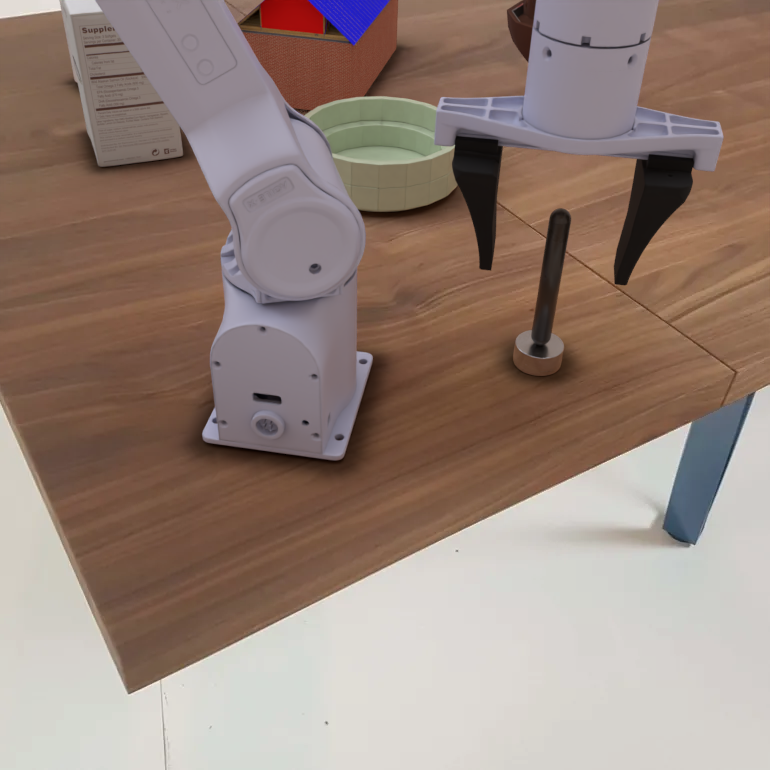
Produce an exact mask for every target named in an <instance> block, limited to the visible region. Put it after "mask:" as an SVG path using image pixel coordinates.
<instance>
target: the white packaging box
mask: <svg viewBox="0 0 770 770" xmlns="http://www.w3.org/2000/svg"><path fill="white" fill-rule="evenodd" d="M62 4H63V9H64V15H65V20H66V25H67V30H68V35H69V40H70V45H71V51H72V56H73V61H74V66H75V71H76V76H77V82H78V83H77V82H76V83H77V86H78V91H79V97H80V101H81V107H82V114H83V117H84V122H85V123H84V124H85V128H86V133H87V135H88V137H89V139H90V142H91V146H92V148H93V151H94V155H95V158H96V163H97V166H98V167H101V168H106V167H115V166H120V165H121V166H122V165H129V164H138V163H146V162H152V161H159V160H167V159H168V160H169V159H174V158H180V157H183V156H184V150H183V149H184V148H183V142H182V134H181V127H180V126H179V124H178V123H177V122H176V120H175V119H174V117H173V116H172V114H171V113H170V111H169V110H168V108H167V107H166V105H165V104H164V102H163V101H162V99H161V98H160V96H159V95H158V93H157V92H156V90H155V89H154V87H153V86H152V84H151V83H150V81H149V80H148V78H147V77H146V75H145V74H144V72H143V71H142V69H141V68H140V66H139V65H138V64H137V62H136V61H135V59H134V58H133V56H132V55H131V53H130V52H129V50H128V49H127V47H126V46H125V44H124V43H123V41H122V40H121V38H120V37H119V35H118V34H117V32H116V31H115V29H114V28H113V26H112V25H111V23H110V22H109V20H108V19H107V17H106V16H105V14H104V13H103V11H102V10H101V9H100V7H99V6H98V4H97V3H96V1H95V0H62Z"/></svg>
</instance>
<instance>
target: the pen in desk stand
mask: <svg viewBox="0 0 770 770" xmlns="http://www.w3.org/2000/svg"><path fill="white" fill-rule="evenodd" d="M571 223H572V215H571V213H570V211H568V210H567V209H566V208H563V207H559V208H556V209H554V210H553V211H551V213H550V215H549V220H548V226H547V232H546V237H545V245H544V250H543V257H542V263H541V269H540V275H539V283H538V288H537V296H536V301H535V308H534V313H533V314H534V315H533V319H532V320H533V322H532V328H531V329H528V330H525V331H522V332H521V333H519V334H518V335H517V336H516V338H515V341H514V348H513V355H512V362H513V364H514V366H515V367H516V368H517V369H518V370H520V371H521V372H523V373H525V374H527V375H530V376H535V377H544V376H545V377H547V376H551V375H553V374H555V373H557V372H558V371H559V370H560V369H561V366H562V361H563V356H564V352H565V351H564V350H565V344H564V341H563V340H562V339H561V337H559V335H557V334H556V333H553V327H554V321H555V315H556V311H557V304H558V300H559V299H558V298H559V292H560V287H561V282H562V277H563V270H564V264H565V258H566V254H567V253H566V252H567V247H568V241H569V236H570V229H571Z"/></svg>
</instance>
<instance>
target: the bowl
mask: <svg viewBox="0 0 770 770" xmlns="http://www.w3.org/2000/svg"><path fill="white" fill-rule="evenodd" d="M437 107H438V106H436V105H434V104H431V103H428V102H425V101H424V102H423V101H419V100H416V99H411V98H406V97H397V96H396V97H395V96H386V95H385V96H384V95H377V96H376V95H375V96H364V97H355V98H348V99H342V100H336V101H333V102H330V103H327V104H324V105H321V106H318V107H316V108H315V109H313V110H309V111H308V112H306V113H305V114H303V116H305V117H307V118H308V119H310V120H311V121H313V122H314V123H315V124H316V125H317V126H318V127H319V128H320V129H321V130H322V132H323V133H324V134H325V136H326V138H327V140H328V142H329V144H330V147H331V152H332V156H333V160H334V163H335V165H336V168H337V170H338V172H339V175H340V177H341V179H342V181H343V184H344V186H345V188H346V191H347V193H348V195H349V197H350V199H351V200H352V202H353V203H354V205H355V206H356V207H357V209H358V210H359V211H364V212H374V213H391V212H403V211H409V210H414V209H417V208H421V207H425V206H428V205H431V204H433V203H435V202H438V201H440V200H442V199H445V198H446V197H448V196H449V195H450V194H451V193H452V192H453V191H454V190H455V189H456V188H457V187H458V184H457V182H456V181H455V177H454V174H453V169H452V161H453V157H454V150H455V145H454V146H439V145H435V144H434V138H435V122H436V110H437Z"/></svg>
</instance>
